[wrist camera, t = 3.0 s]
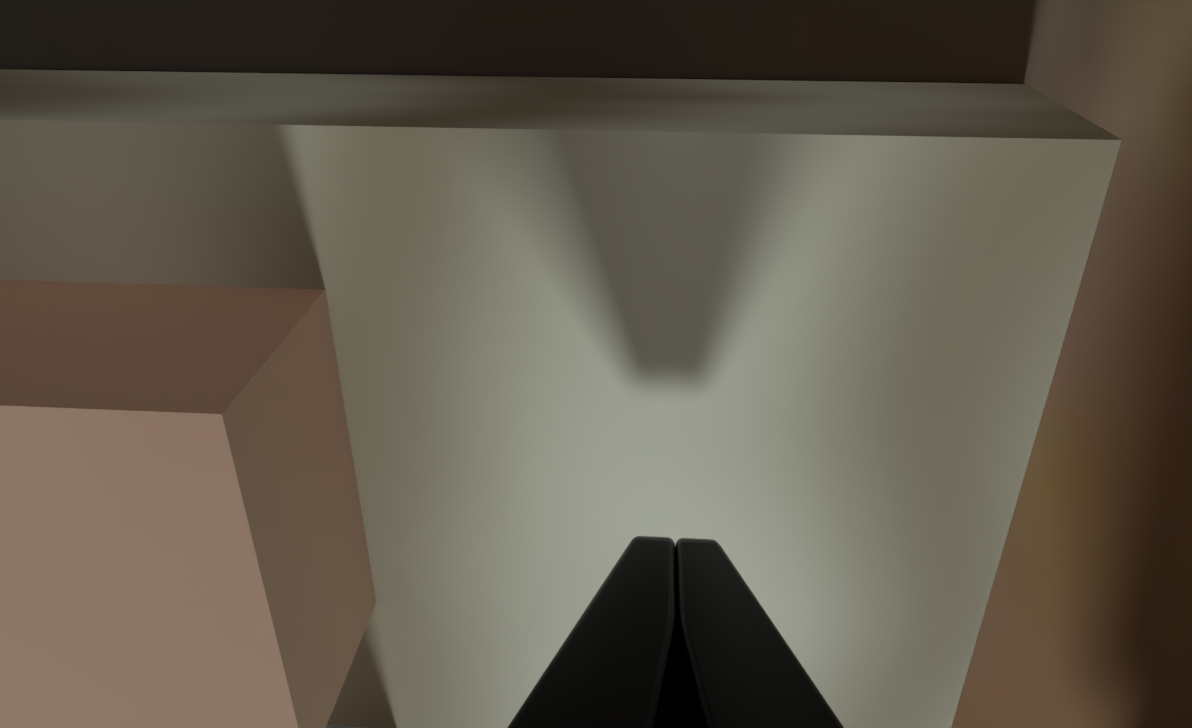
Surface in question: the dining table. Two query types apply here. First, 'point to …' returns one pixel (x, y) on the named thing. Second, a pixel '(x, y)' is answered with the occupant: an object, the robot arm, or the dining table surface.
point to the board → (617, 335)
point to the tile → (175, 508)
